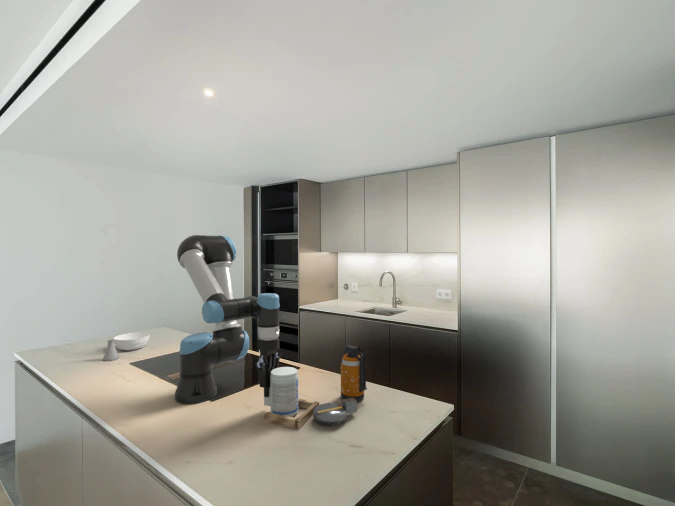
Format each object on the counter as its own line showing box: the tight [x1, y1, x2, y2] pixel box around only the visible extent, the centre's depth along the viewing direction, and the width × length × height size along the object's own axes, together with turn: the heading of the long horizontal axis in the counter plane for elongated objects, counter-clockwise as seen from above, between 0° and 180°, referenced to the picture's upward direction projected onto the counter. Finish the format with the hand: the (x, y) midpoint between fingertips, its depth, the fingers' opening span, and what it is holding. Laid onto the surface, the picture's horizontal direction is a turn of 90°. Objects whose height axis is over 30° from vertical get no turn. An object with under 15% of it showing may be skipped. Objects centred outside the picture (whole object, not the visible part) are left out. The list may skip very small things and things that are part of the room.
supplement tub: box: [270, 366, 299, 417], centre depth 121 cm, size 10×10×15 cm
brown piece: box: [264, 397, 320, 430], centre depth 120 cm, size 13×15×2 cm
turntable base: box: [321, 423, 339, 426], centre depth 116 cm, size 7×7×1 cm
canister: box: [340, 344, 368, 402], centre depth 133 cm, size 9×11×20 cm
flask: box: [102, 338, 120, 362], centre depth 182 cm, size 7×7×10 cm
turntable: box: [313, 398, 357, 425], centre depth 117 cm, size 15×11×4 cm
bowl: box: [112, 332, 151, 351], centre depth 202 cm, size 18×18×7 cm
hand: (268, 404), depth 123 cm, fingers closed
